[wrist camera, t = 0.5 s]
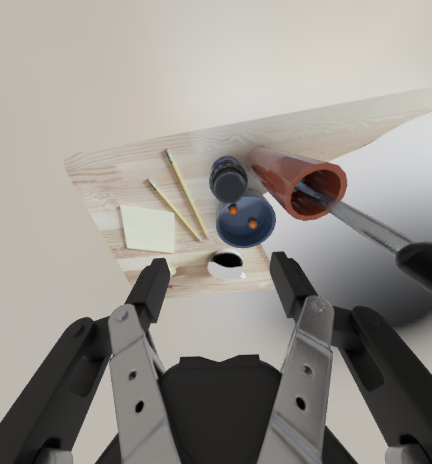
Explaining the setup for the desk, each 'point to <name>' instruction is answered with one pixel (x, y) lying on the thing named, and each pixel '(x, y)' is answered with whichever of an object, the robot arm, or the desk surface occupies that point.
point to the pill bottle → (228, 180)
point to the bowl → (245, 220)
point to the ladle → (378, 235)
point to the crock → (296, 179)
